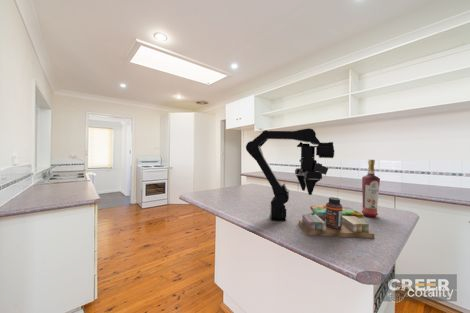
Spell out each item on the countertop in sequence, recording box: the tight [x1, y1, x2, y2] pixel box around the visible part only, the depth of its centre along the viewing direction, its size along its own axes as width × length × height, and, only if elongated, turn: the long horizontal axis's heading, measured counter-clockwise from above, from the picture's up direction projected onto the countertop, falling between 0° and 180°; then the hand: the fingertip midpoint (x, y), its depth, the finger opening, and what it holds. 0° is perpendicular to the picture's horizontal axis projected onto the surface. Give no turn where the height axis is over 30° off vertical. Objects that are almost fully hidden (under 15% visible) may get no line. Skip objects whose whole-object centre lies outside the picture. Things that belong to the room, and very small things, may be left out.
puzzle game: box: [310, 204, 365, 221], centre depth 95 cm, size 12×5×20 cm
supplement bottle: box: [324, 196, 343, 229], centre depth 78 cm, size 6×6×11 cm
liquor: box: [361, 159, 381, 218], centre depth 98 cm, size 7×7×28 cm
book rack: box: [298, 214, 375, 239], centre depth 79 cm, size 24×12×4 cm, turn 87°
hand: (306, 192), depth 88 cm, fingers open, 9 cm apart
